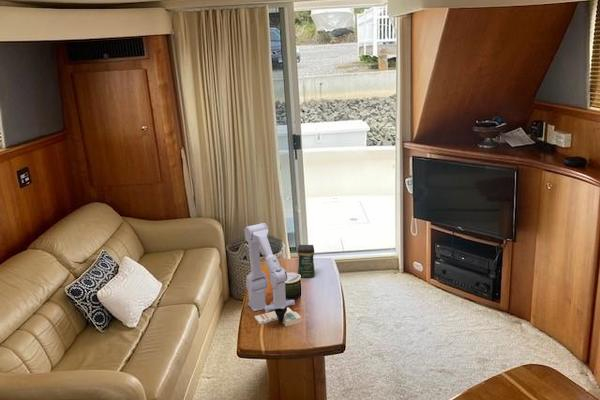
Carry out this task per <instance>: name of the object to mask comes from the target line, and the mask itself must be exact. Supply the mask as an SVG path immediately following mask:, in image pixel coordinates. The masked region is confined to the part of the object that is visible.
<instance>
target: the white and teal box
mask: <svg viewBox="0 0 600 400" xmlns="http://www.w3.org/2000/svg"><path fill="white" fill-rule="evenodd" d="M300 323H302V316H301V315H300V314H299V313H298V312H297V311H293V313H291V312H289V313H286V314H285V315H284V318H283V322H282V323H281V324H283V325H284V326H285V327H289V326H293V325H296V324H300Z"/></svg>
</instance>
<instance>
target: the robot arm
mask: <svg viewBox="0 0 600 400" xmlns="http://www.w3.org/2000/svg"><path fill="white" fill-rule="evenodd" d="M243 232H244V239H245V241H246V242H247V247H248V255H249V263H250V272H249V274H248V275H247V276H246V280H245V281H246V282H245V286H246V289H247V292H248V302H247V306H249V308H250V309H251V310H252V311H253V312H257V311H261V310H264V312H266V313H269V312H271V311H275V313H276V315H277V317H278V320H277V321H278V322H279V324H283V323H282V322H283V318H284V315H285V313H286V311H287V308H288V306H289V307H290V306H295V305H296V302H295V299H286V297H287V295H286V282H287V280H288V274H287V271H286V270H285V269H284V267H283V266H281V263H280V261H279V259H278V257H277V255H275V254H274V253H273V250H272V247H271V244H270V240H269V238H268V237H269V227H268V225H267V223H265V222H261V223H258V224H252V225H247V226H246V227H245V228H244V231H243ZM260 249H261V250H262V252H263V254H264V256H265V260H264V262H265V264H266V267H267V269H268V271H269V280H270V283H271V287H272V299H273V300H272V301H273V302H272V303H270V304H269V305H268V304H267V303H266V290H267V288H268V286H269V281H268V277H267V274H266V272H264V271H262V266H261V265H262V264H261V262H262V261H261V254H260Z"/></svg>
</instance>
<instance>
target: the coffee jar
mask: <svg viewBox="0 0 600 400" xmlns="http://www.w3.org/2000/svg"><path fill="white" fill-rule="evenodd" d="M314 255H315V247H314V244H298V247H297V256H298V265H297V266H298V267H297V275H298V274H300V275H301V277H302V278H304V279H305V278H306V279H308V278H310V279H311V278H313V277H315V275H316V273H315V263H314ZM301 277H300V278H301Z"/></svg>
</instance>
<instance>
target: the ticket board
mask: <svg viewBox="0 0 600 400" xmlns="http://www.w3.org/2000/svg"><path fill="white" fill-rule="evenodd" d="M286 308H287V311H286V313H289V312H291V313H293V312H294V311H293V310H292V309H291V308H290V306H289V307H288V306H287V307H286ZM286 313H285V314H286ZM254 319H255V320H256V321H257V323H258V324H259V325H263V323H264V324H268V323H271V322H274V321H278V317H277V315H276V313H275V311H274V310H272V311H268V312H266V313H262V314H258V315H254Z"/></svg>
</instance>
